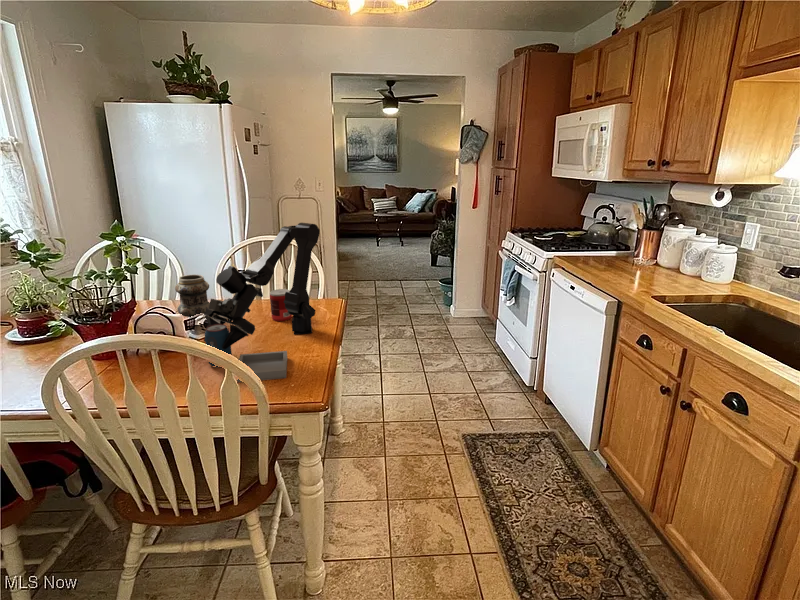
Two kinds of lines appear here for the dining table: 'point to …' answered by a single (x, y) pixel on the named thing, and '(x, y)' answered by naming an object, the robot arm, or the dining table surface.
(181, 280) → the apothecary jar
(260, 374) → the tray
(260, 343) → the dining table surface
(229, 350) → the soda can
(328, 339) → the dining table surface
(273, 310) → the canned food
